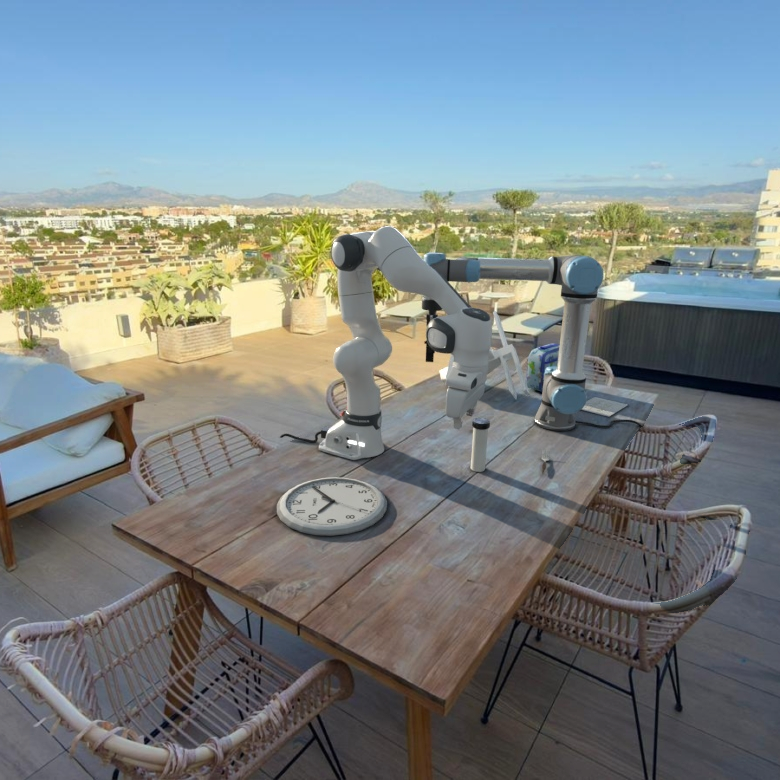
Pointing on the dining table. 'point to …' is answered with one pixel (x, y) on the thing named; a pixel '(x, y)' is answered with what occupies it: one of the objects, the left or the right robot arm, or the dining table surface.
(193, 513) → the dining table surface
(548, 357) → the lunch box
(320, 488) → the wall clock
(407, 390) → the dining table surface
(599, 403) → the invitation card
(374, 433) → the left robot arm
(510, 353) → the white plastic object
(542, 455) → the fork
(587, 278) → the right robot arm
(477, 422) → the lid
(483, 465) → the white cylinder
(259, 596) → the dining table surface
